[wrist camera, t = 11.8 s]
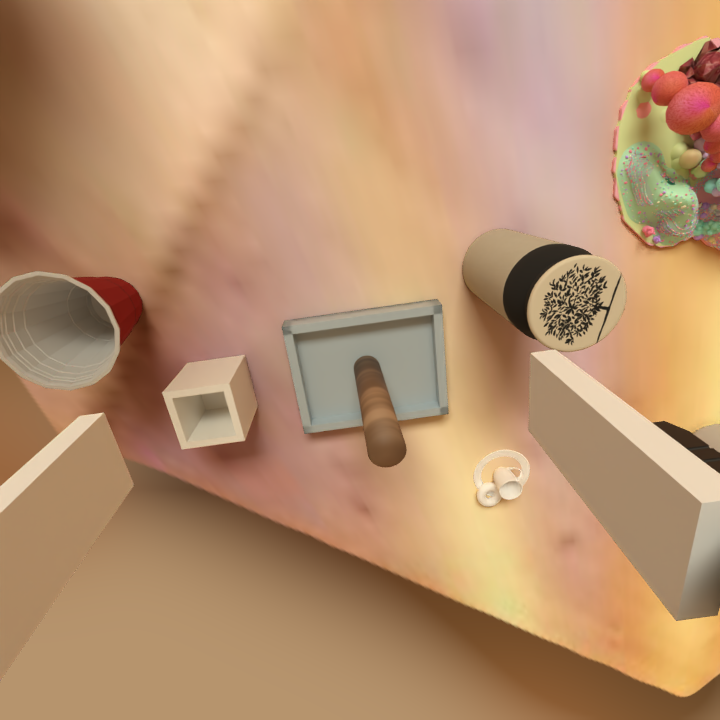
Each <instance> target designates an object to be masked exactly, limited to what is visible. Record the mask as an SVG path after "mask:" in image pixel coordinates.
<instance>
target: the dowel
mask: <svg viewBox="0 0 720 720" xmlns="http://www.w3.org/2000/svg"><path fill="white" fill-rule="evenodd" d="M354 374H355V380H356V386H357V392H358V398H359V404H360V410H361V416H362V422H363V428H364V434H365V440H366V446H367V452H368V456H369V459H370V460H371V461H372V462H373V463H374V464H375V465H377V466H380V467H392V466H394V465H397V464H398V463H400V462H401V461H402V460H403V458H404V457H405V455H406V444H405V441H404V438H403V435H402V432H401V429H400V426H399V423H398V420H397V417H396V414H395V410H394V407H393V404H392V401H391V398H390V395H389V392H388V389H387V386H386V383H385V380H384V377H383V373H382V370H381V367H380V364H379V362H378V360H377V359H376V358H374V357H372V356H362V357H360V358H359V359H357V361H356V362H355V364H354Z"/></svg>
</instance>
